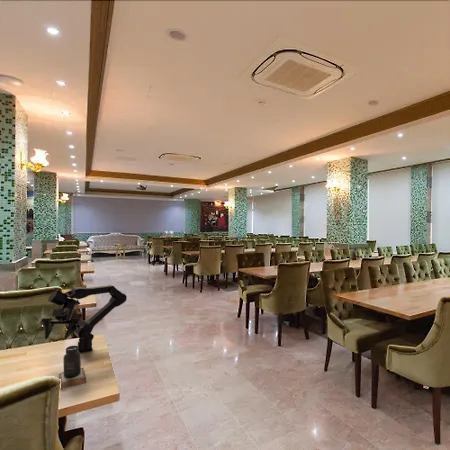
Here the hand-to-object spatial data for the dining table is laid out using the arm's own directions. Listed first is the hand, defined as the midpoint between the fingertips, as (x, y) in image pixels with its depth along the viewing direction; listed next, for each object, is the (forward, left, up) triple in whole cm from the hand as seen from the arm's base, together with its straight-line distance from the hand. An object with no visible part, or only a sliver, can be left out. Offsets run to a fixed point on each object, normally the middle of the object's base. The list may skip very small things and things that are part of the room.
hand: (55, 339), depth 141 cm
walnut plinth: (-6, +18, -14) cm, 23 cm away
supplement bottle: (-6, +18, -11) cm, 22 cm away
